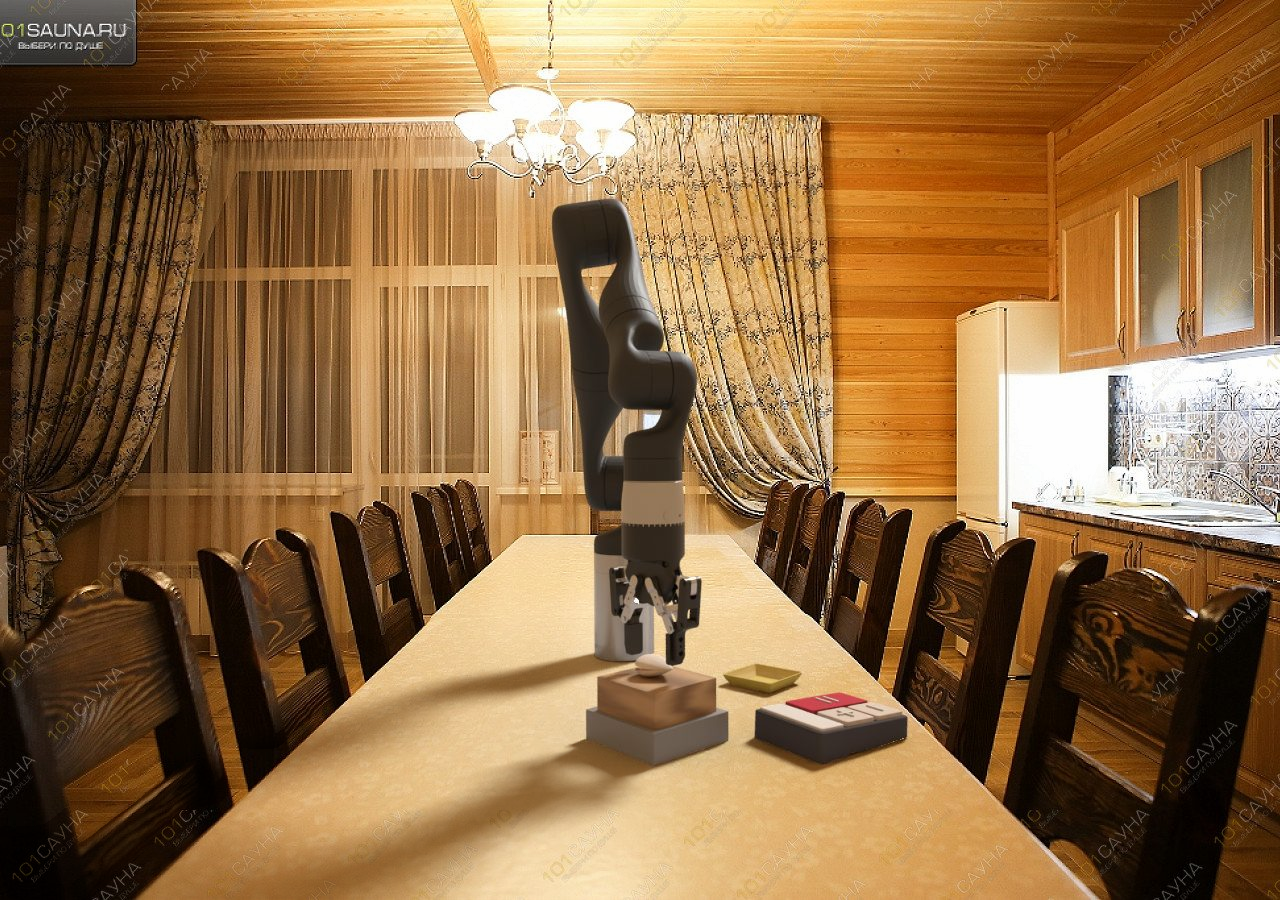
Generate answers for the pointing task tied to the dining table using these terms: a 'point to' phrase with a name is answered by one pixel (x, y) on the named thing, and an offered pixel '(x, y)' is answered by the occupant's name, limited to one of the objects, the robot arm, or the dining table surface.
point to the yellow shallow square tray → (762, 677)
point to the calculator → (829, 726)
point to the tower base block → (657, 735)
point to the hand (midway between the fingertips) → (653, 658)
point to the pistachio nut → (652, 665)
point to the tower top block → (656, 696)
